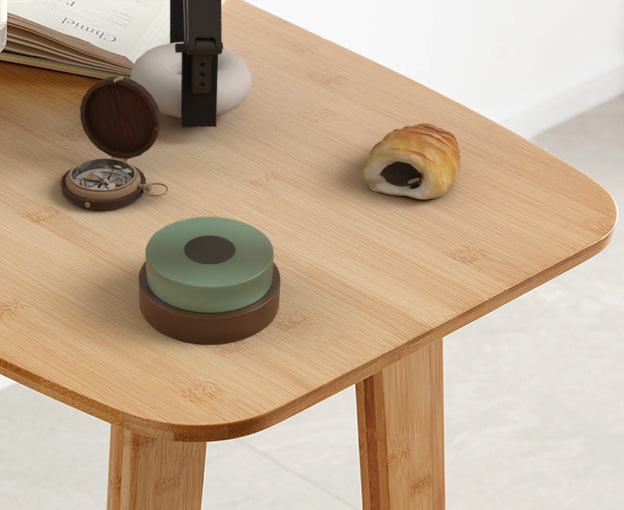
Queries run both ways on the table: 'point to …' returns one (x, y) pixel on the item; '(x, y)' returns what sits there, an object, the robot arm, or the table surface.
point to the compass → (114, 145)
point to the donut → (167, 78)
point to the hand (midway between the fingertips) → (191, 94)
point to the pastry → (414, 162)
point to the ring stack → (209, 281)
